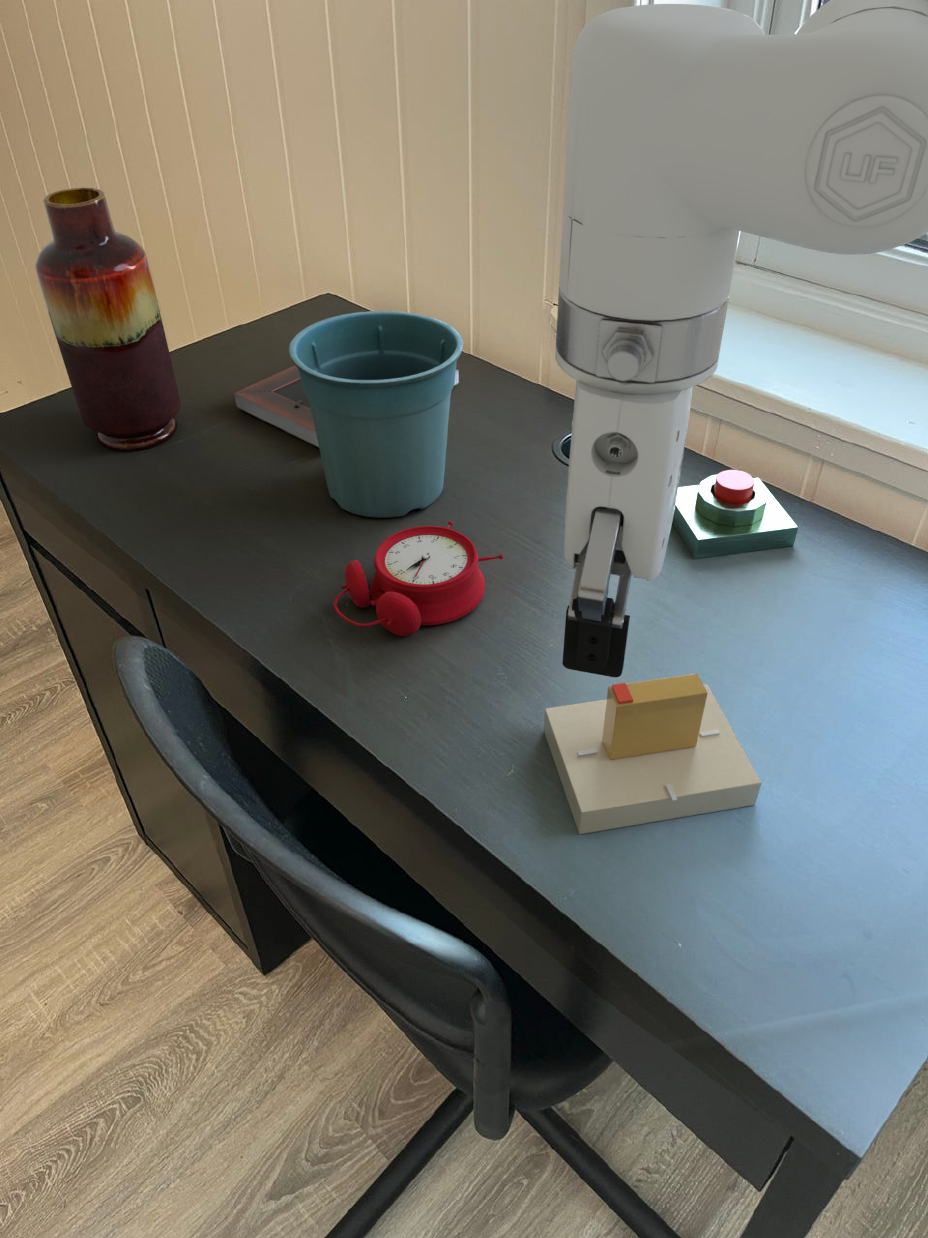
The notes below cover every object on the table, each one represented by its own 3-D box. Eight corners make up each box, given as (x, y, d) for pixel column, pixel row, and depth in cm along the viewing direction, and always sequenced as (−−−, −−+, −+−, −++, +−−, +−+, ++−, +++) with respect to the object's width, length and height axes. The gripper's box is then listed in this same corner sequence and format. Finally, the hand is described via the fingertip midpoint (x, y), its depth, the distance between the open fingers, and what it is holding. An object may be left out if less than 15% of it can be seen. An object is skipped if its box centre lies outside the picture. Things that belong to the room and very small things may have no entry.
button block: (754, 495, 98) (762, 462, 95) (793, 545, 91) (802, 511, 88) (662, 507, 96) (667, 473, 94) (694, 558, 89) (701, 523, 87)
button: (742, 483, 93) (745, 467, 92) (757, 502, 90) (761, 487, 89) (707, 487, 92) (710, 471, 91) (721, 507, 90) (724, 491, 88)
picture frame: (366, 350, 126) (237, 410, 113) (365, 332, 124) (233, 390, 112) (459, 386, 117) (330, 455, 105) (458, 367, 116) (327, 435, 103)
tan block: (686, 726, 70) (697, 670, 66) (696, 746, 68) (708, 690, 64) (601, 739, 69) (608, 683, 65) (609, 760, 67) (617, 703, 64)
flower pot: (395, 432, 109) (385, 295, 98) (497, 486, 100) (498, 341, 89) (278, 488, 100) (253, 344, 90) (378, 553, 91) (364, 400, 81)
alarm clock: (518, 555, 84) (385, 596, 75) (506, 614, 87) (377, 660, 78) (443, 507, 90) (311, 539, 81) (434, 564, 93) (306, 601, 84)
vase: (168, 400, 116) (113, 172, 99) (199, 438, 108) (146, 200, 91) (77, 425, 111) (3, 191, 94) (103, 466, 104) (28, 221, 87)
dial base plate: (701, 703, 75) (706, 679, 73) (757, 809, 67) (764, 785, 65) (542, 727, 73) (543, 703, 72) (580, 839, 65) (583, 815, 64)
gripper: (705, 429, 36) (653, 733, 47) (735, 267, 49) (688, 538, 60) (514, 405, 38) (507, 705, 49) (591, 255, 50) (571, 521, 61)
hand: (607, 613), depth 54 cm, fingers open, 9 cm apart
